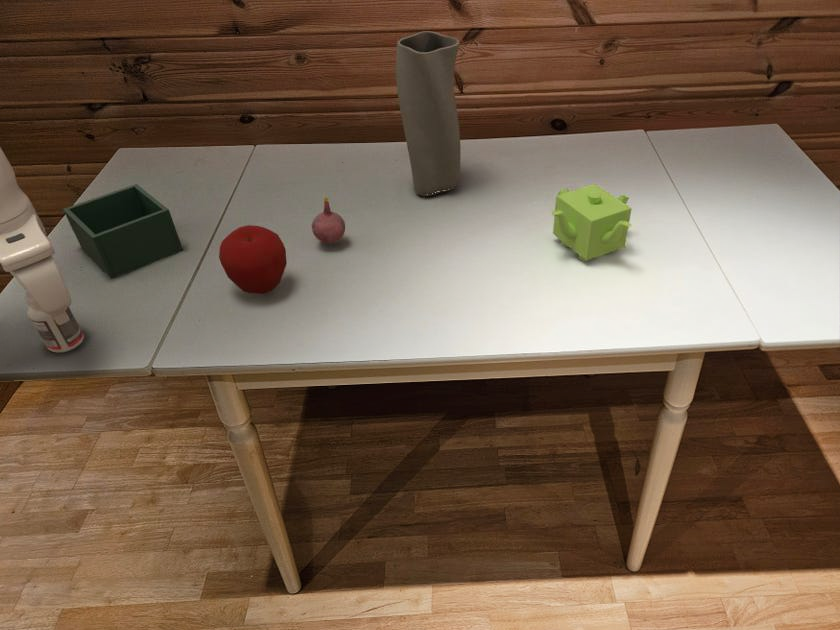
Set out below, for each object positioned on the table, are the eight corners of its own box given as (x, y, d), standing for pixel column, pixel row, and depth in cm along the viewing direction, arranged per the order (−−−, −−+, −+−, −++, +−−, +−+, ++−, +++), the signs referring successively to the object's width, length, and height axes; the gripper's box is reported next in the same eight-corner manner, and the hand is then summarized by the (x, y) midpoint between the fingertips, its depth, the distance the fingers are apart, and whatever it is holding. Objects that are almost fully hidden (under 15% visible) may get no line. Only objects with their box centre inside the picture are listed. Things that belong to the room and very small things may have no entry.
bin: (111, 279, 117) (92, 237, 111) (82, 249, 124) (62, 208, 118) (183, 249, 124) (168, 209, 118) (151, 223, 131) (136, 183, 125)
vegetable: (351, 249, 125) (344, 202, 118) (319, 256, 123) (310, 208, 116) (343, 233, 129) (336, 187, 122) (312, 240, 127) (303, 193, 120)
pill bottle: (81, 327, 107) (55, 278, 100) (88, 345, 104) (61, 296, 97) (44, 339, 105) (15, 290, 98) (50, 358, 102) (21, 308, 95)
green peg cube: (622, 273, 119) (632, 219, 111) (545, 264, 121) (549, 210, 114) (627, 230, 130) (636, 178, 122) (556, 222, 132) (560, 171, 124)
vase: (423, 207, 136) (414, 56, 116) (395, 184, 144) (382, 38, 123) (472, 192, 141) (472, 44, 121) (443, 170, 149) (438, 27, 128)
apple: (226, 278, 117) (208, 221, 109) (285, 264, 121) (272, 208, 113) (236, 313, 110) (217, 254, 102) (299, 297, 113) (286, 239, 105)
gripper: (-43, 210, 94) (6, 287, 104) (4, 268, 84) (54, 348, 93) (4, 194, 98) (47, 270, 107) (55, 248, 87) (98, 327, 96)
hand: (51, 307), depth 100 cm, fingers open, 8 cm apart
